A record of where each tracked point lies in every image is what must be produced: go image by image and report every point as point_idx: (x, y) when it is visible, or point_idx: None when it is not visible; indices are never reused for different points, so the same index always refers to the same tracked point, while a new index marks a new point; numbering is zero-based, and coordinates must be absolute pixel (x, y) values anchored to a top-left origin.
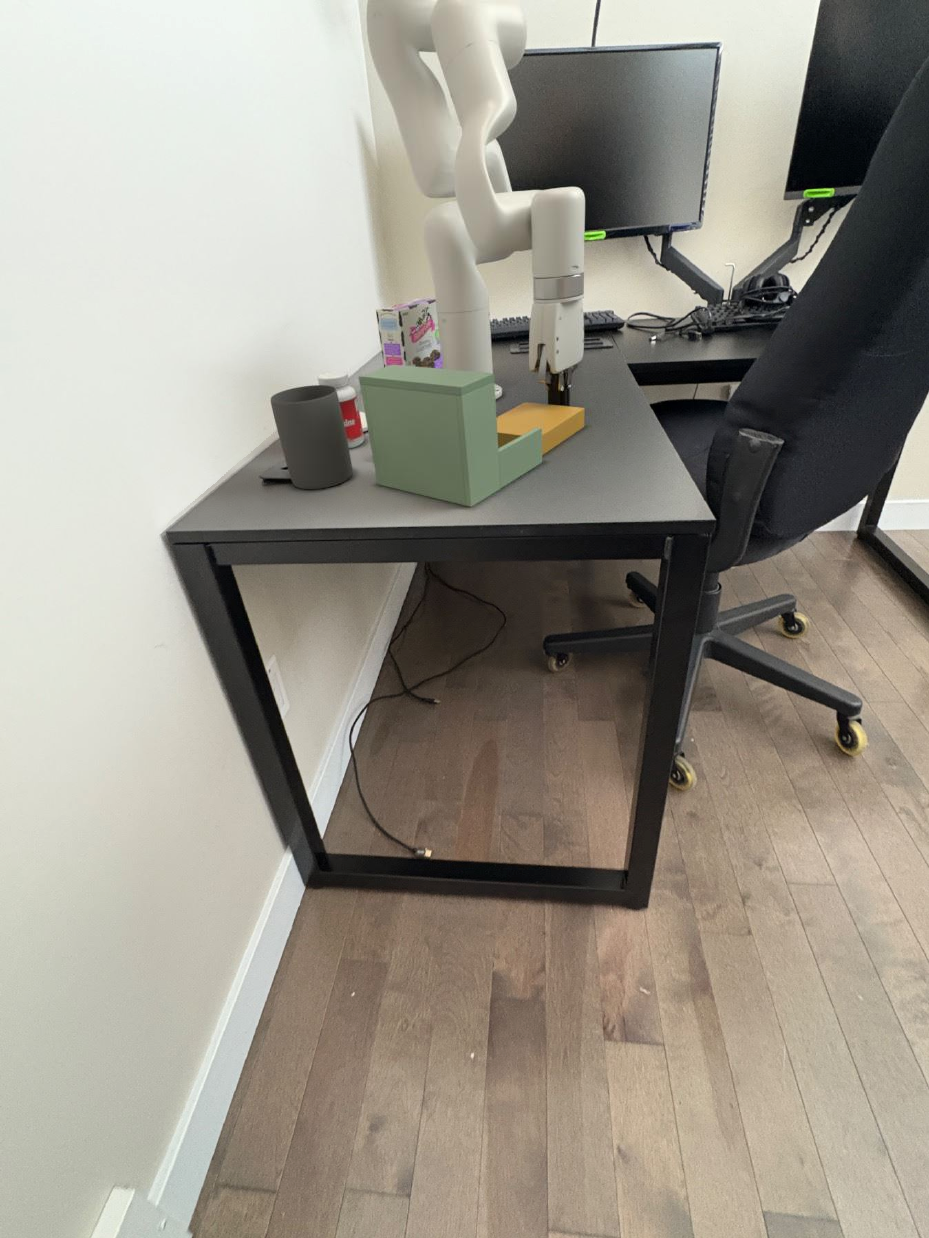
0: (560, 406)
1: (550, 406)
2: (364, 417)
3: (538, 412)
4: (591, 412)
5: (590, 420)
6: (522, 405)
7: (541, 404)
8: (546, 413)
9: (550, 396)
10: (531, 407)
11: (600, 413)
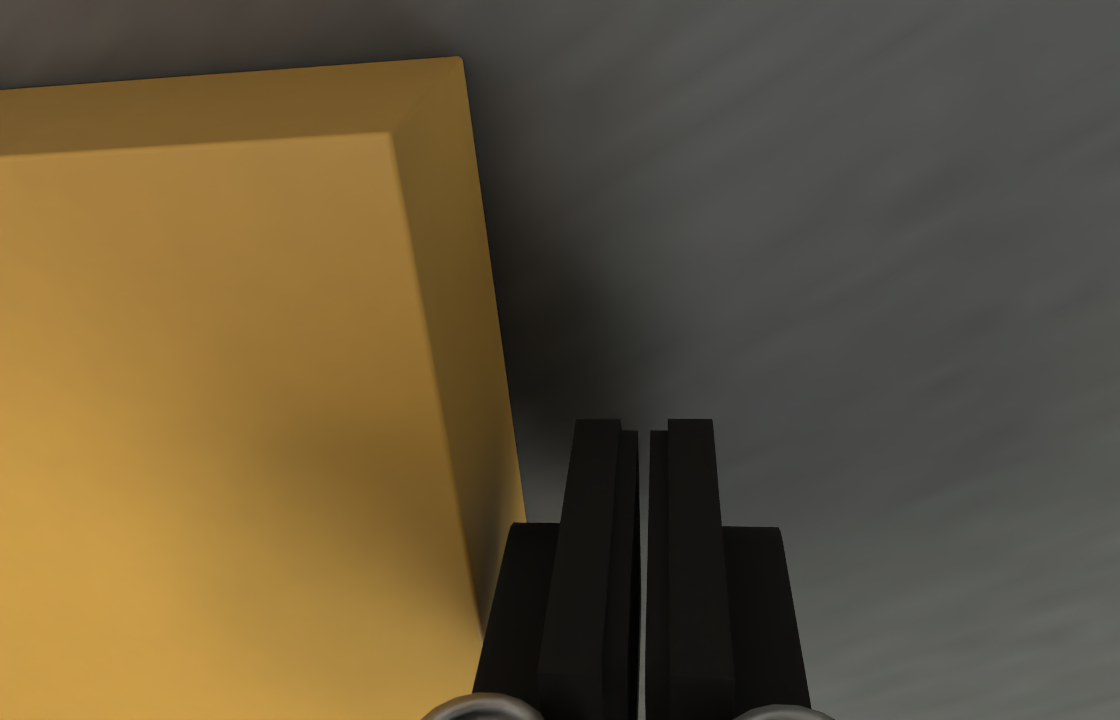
0: None
1: (396, 617)
2: None
3: (99, 597)
4: (1060, 631)
5: None
6: (196, 223)
7: (418, 472)
8: (134, 686)
9: (483, 660)
10: (209, 413)
11: (1036, 709)
